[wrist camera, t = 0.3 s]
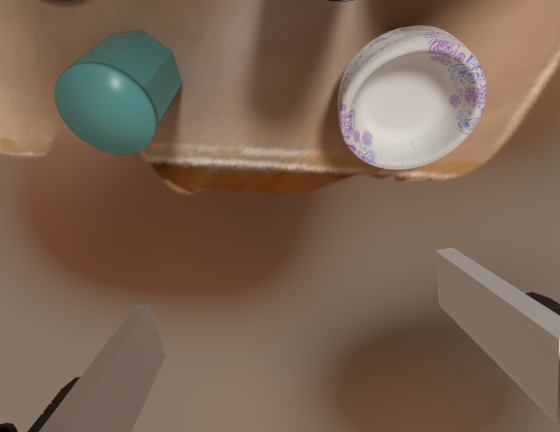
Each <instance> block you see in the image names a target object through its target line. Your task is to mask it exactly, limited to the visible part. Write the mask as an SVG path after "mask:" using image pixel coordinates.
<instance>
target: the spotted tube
mask: <svg viewBox="0 0 560 432" xmlns="http://www.w3.org/2000/svg"><path fill="white" fill-rule="evenodd" d="M329 1H341V2H347V1H353V0H329Z"/></svg>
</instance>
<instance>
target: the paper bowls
mask: <svg viewBox="0 0 560 432" xmlns="http://www.w3.org/2000/svg"><path fill="white" fill-rule="evenodd" d="M485 100H486V80H485V76H484V73H483V70H482V67H481V65H480V64H479V62H478V60H477V59H476V57H475V56H474V55H473V54H472V53H471V52H470V51H469V50H468V49H467V48H466V47H465V46H464V45H463V44H462V43H461V42H460V41H459V40H457V39H456V38H455V37H454V36H452V35H451V34H449V33H447V32H446V31H444V30H442V29H440V28H437V27H432V26H422V25H414V26H407V27H401V28H397V29H394V30H391V31H389V32H387V33H385V34H382V35H380V36H379V37H377V38H375V39H374V40H373V41H371V42H369V43H368V44H367V45H366V46H364V47H363V48H362V49H361V50H360V51H359V52H358V53H357V54H356V55H355V56H354V58H353V59H352V60H351V61H350V63H349V65H348V66H347V68H346V70H345V72H344V74H343V76H342V79H341V83H340V86H339V90H338V118H339V125H340V130H341V134H342V138H343V140H344V142H345V143H346V145H347V147H348V148H349V149H350V150H351V151H352V152H353V154H355V155H356V156H357V157H358V158H359V159H361V160H362V161H364V162H366V163H368V164H370V165H372V166H375V167H379V168H383V169H389V170H404V169H412V168H416V167H420V166H424V165H427V164H429V163H432V162H434V161H436V160H438V159H440V158H442V157H443V156H445V155H447V154H448V153H450V152H451V151H453V150H454V149H455V148H456V147H457V146H459V145H460V144H461V143H462V142H463V141H464V140H465V139H466V138H467V137H468V135H469V134H470V133H471V132H472V130H473V129H474V127H475V126H476V124H477V122H478V120H479V118H480V116H481V114H482V111H483V108H484V105H485Z"/></svg>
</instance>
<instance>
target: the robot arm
mask: <svg viewBox="0 0 560 432" xmlns="http://www.w3.org/2000/svg"><path fill="white" fill-rule="evenodd" d="M436 263H437V276H438V290H439V304H440V306H441V307H442V308H443V309H444V310H445V311H446V312H447V313H448V314H449V315H450V316H451V317H452V318H453V319H454V320H455V321H456V322H457V323H458V324H459V326H461V328H462V329H463V330H464V331H465V332H466V333H467V334H468V335H469V336H470V337H471V338H472V339H474V341H475V342H476V343H477V344H478V345H479V346H480V347H481V348H482V349H483V350H484V351H485V352H486V353H487V354H488V355H489V356H490V357H491V358H492V359H493V360H494V361H495V362H496V363H497V364H498V365H499V366H500V367H501V368H502V369H503V370H504V371H505V372H506V373H507V374H508V375H509V376H510V377H511V378H512V379H513V380H514V381H515V382H516V383H517V384H518V385H519V386H520V387H521V388H522V389H523V390H524V391H525V393H526V394H527V395H528V396H530V397H531V398H532V400H533V401H534V402H535V403H536V404H537V405H538V406H539V407H540V408H541V409H542V410H543V411H544V412H545V413H546V414H547V415H548V416H549V417H550V418H551V419H552V420H553V421H554V422H555V423H556V424H560V304H559V303H557V302H555V301H554V300H552V299H550V298H548V297H545V296H542V295H539V294H536V293H532V292H531V293H523V292H521V291H519V290H518V289H516V288H515V287H513V286H512V285H510V284H509V283H507V282H506V281H504V280H502V279H501V278H499V277H498V276H496V275H495V274H493V273H491V272H490V271H488V270H487V269H485V268H483V267H482V266H480V265H479V264H477V263H476V262H474V261H472V260H471V259H469V258H468V257H466V256H465V255H463V254H461V253H460V252H458V251H457V250H455V249H454V248H449V249H443V250H438V251H436ZM165 357H166V355H165V352H164V349H163V346H162V342H161V339H160V336H159V333H158V330H157V327H156V323H155V320H154V317H153V314H152V310H151V307H150V305H144V306H138V307H133V308H132V310H131V311H130V312H129V314H128V315H127V316H126V318H125V319H124V320H123V321H122V323H121V324H120V325H119V327H118V328H117V330H116V331H115V332H114V333H113V335H112V336H111V337H110V339H109V340H108V341H107V343H106V344H105V345H104V347H103V348H102V349H101V351H100V352H99V353H98V354H97V356H96V357H95V358H94V360H93V361H92V362H91V364H90V365H89V366H88V368H87V369H86V370H85V372H84V373H83V374H82V376H81V377H77V378H74V379H73V380H72V381H71V382H70V383H68V384H67V385H66V386H65V387H64V388H62V389H61V391H60V392H59V393H58V394H57V395H56V397H55V398H54V399H53V400H52V403H51V404H49V405H48V407H47V408H46V409H45V411H44V413H43V414H41V415H40V417H39V418H38V419H37V421H36V422H35V423H34V424H33V426H32V427H31V428H30V429H29V431H28V432H132V430H133V428H134V425H135V423H136V421H137V419H138V417H139V414H140V412H141V410H142V408H143V406H144V403H145V401H146V399H147V397H148V394H149V392H150V390H151V388H152V386H153V383H154V381H155V379H156V377H157V374H158V372H159V370H160V368H161V366H162V363H163V361H164V359H165ZM0 432H17V429H16V428H15V426H14V425H13V424H11V423H4V424H0Z"/></svg>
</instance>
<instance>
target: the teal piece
mask: <svg viewBox="0 0 560 432" xmlns="http://www.w3.org/2000/svg"><path fill="white" fill-rule="evenodd" d="M181 85H182V81H181V78H180V75H179V72H178V69H177V66H176V63H175V60H174V57H173V54H172V52H171V51H170V50H168V49H167V48H166V47H164V46H163V45H161V44H160V43H159V42H157V41H156V40H154V39H153V38H152V37H150V36H149V35H147V34H146V33H145V32H143V31H142V30H141V31H134V32H127V33H119V34H111V35H110V36H108V37H107V38H106V39H105V40H103V41H102V42H101V43H99V44H98V45H97V46H96V47H94V48H93V49H92V50H90V51H89V52H88V53H86V54H85V55H84V56H83V57H81V58H80V59H79V60H77V61H76V62H75V63H73V64H72V65H71V66H70V67H69V69H68V70H66V71H65V72H64V73H63V74H62V75H61V76H60V77H59V79H58V81H57V83H56V86H55V102H56V105H57V108H58V111H59V113H60V115H61V117H62V119H63V120H64V121H65V123H66V124H67V126H68V127H69V128H70V129H71V130H72V131H73V132H74V133H75V134H76V135H77V136H78V137H79V138H81V139H82V140H84V141H85V142H86V143H88V144H90V145H91V146H93V147H95V148H97V149H100V150H102V151H105V152H109V153H113V154H121V155H125V154H133V153H136V152H139V151H141V150H142V149H144V148H145V147H146V146H147V145H148V144H149V143H150V142H151V140H152V138H153V137H154V135H155V133H156V130H157V126H158V124H159V122H160V121H161V119H162V118H163V116H164V114H165V113H166V111H167V109H168V108H169V106H170V104H171V102H172V100H173V99H174V97H175V95H176V93H177V92H178V90H179V88H180V87H181Z"/></svg>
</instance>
